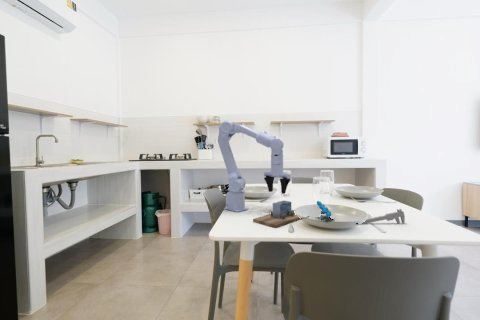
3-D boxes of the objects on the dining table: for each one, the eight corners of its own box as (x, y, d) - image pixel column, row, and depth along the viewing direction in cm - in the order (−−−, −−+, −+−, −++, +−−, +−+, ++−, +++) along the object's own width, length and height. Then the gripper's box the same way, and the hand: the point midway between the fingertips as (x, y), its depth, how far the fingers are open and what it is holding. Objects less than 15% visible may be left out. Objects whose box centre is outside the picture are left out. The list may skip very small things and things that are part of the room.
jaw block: (272, 217, 112) (272, 203, 112) (283, 213, 118) (283, 200, 118) (280, 218, 109) (280, 204, 109) (291, 215, 115) (291, 201, 115)
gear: (333, 219, 107) (316, 200, 111) (322, 228, 108) (306, 209, 112) (337, 216, 116) (321, 199, 120) (327, 224, 118) (312, 207, 122)
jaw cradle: (253, 221, 110) (253, 214, 110) (287, 211, 126) (287, 204, 126) (275, 228, 101) (275, 220, 101) (309, 216, 118) (309, 209, 118)
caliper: (402, 223, 107) (403, 208, 106) (404, 224, 106) (404, 209, 105) (353, 224, 106) (353, 209, 106) (354, 225, 105) (354, 209, 105)
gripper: (259, 163, 127) (260, 191, 128) (284, 165, 117) (284, 195, 117) (269, 163, 132) (269, 189, 133) (293, 164, 121) (293, 193, 122)
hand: (276, 192), depth 125 cm, fingers open, 7 cm apart
